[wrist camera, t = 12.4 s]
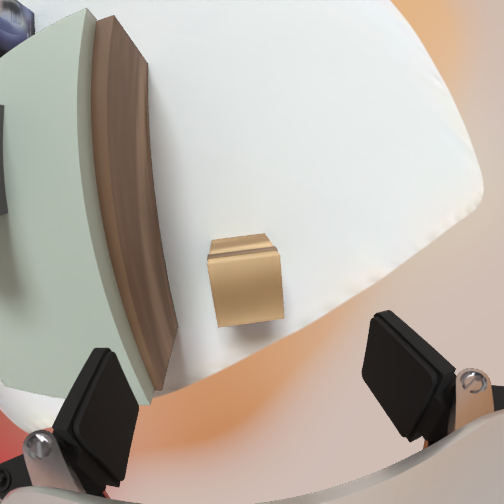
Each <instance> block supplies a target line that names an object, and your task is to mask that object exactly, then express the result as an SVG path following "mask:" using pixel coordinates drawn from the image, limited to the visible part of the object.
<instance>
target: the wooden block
mask: <svg viewBox="0 0 504 504" xmlns="http://www.w3.org/2000/svg"><path fill="white" fill-rule="evenodd" d="M207 260H208V263H207V266H208V272H209V278H210V284H211V290H212V296H213V301H214V307H215V313H216V318H217V323H218V327H225V326H233V325H241V324H249V323H256V322H263V321H270V320H277V319H283V318H284V307H283V291H282V276H281V263H280V255H279V253H278V251H277V248H276V247H275V246H273V245H272V243H271V242H270V240H269V239H268V238H267V236H266V235H265V233H264V234H256V235H247V236H239V237H231V238H223V239H216V240H212V243H211V248H210V253H209V255H208V257H207Z"/></svg>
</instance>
